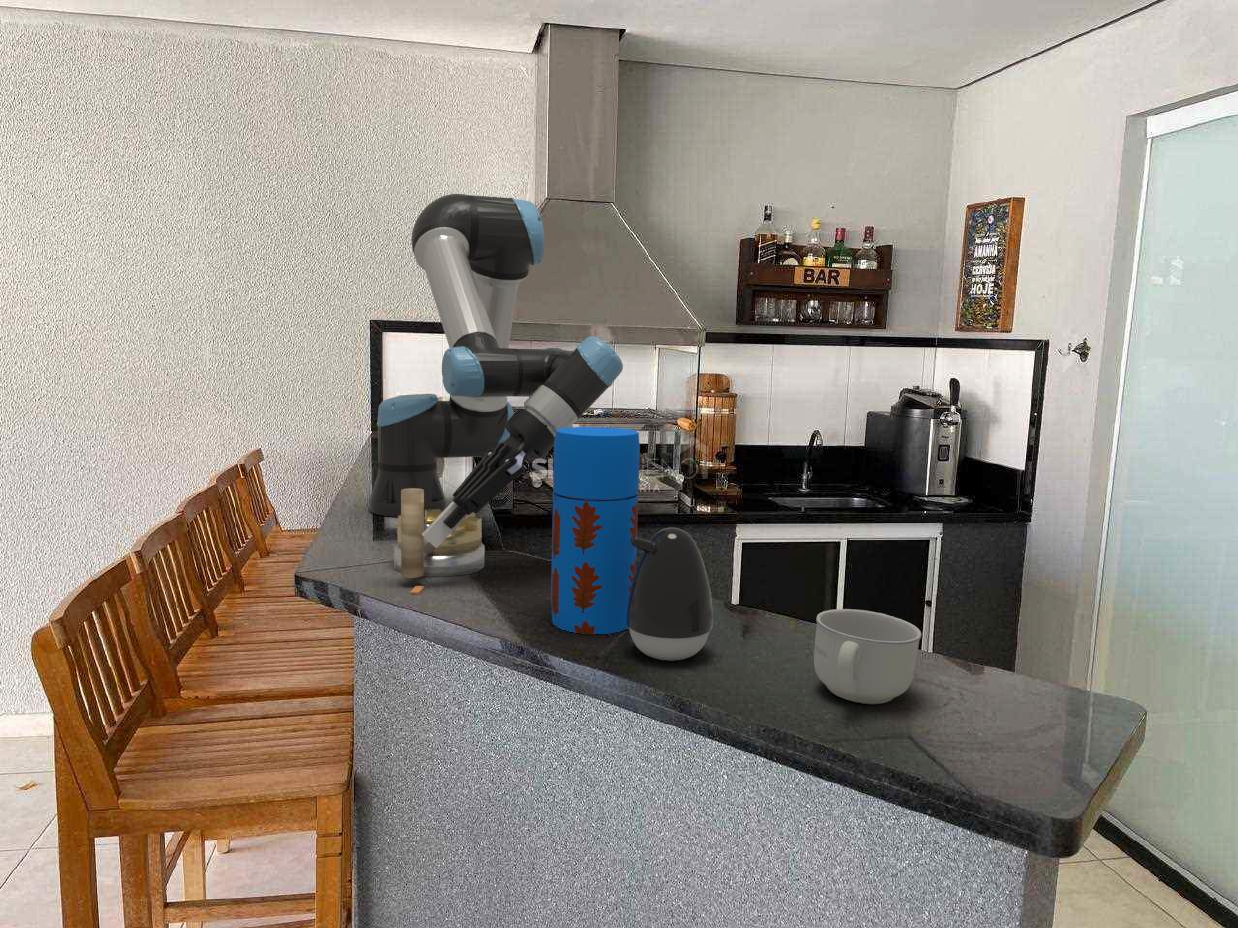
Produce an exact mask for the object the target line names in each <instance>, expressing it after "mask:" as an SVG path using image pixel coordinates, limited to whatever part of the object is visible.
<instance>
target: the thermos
mask: <svg viewBox="0 0 1238 928" xmlns="http://www.w3.org/2000/svg"><path fill="white" fill-rule="evenodd" d="M640 445H641V444H640V433H639V432H638V431H637V430H634V429H629V428H628V429H627V428H622V427H621V428H618V427H603V426H573V427H569V428H561V429H557V430H556V433H555V440H554V446H553V471H552V472H553V474H552V475H553V476H552V477H553V478H552V479H553V480H552V491H553V492H552V525H551V526H552V529H551V530H552V532H551V534H552V535H551V579H550V580H551V583H550V585H551V586H550V587H551V589H550V597H551V599H550V601H551V622H552V621H553V622H552V625H555V626H557V627H558V628H560V629H562V630H561V631H563V630H566V631H569V632H574V633H573V634H575V633H585V634H608V635H610V634H609V633H614V634H616V633H615V632H619V631H623V630H625V629H626V628H628V626H627V623H626V616H627V607H628V601H629V595H630V590H631V586H632V582H633V579H634V576H635V572H636V569H637V549H638V548H636V547H634V546H632V545H631V540H632V538H633V537H637V538H638V515H639V514H638V511H639V487H640V486H639V485H640V484H639V483H640V480H639V479H640V457H641V456H640V453H641V452H640V451H641V450H640V449H641V446H640ZM555 626H554V627H555ZM558 628H557V629H558ZM566 631H565V632H566ZM625 631H626V630H625ZM569 632H568V633H569ZM623 632H624V631H623ZM619 633H620V632H619Z"/></svg>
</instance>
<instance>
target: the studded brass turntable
mask: <svg viewBox="0 0 1238 928" xmlns="http://www.w3.org/2000/svg"><path fill="white" fill-rule="evenodd" d="M441 513H442V511H441V510H440V509H428V510H425V516H424V490H423V489H416V488H409V489H402V490H401V515H399V516H398V517H397V533H396V534H397V541H396V543H397V544H396V545H397V546H398V548H399V549H401V572H400V576H401V577H403V578H406V579H407V578H409V579H414V578H422V577H424V576H423V575H424V557H425V556H426V555H428V554H430V555H444V554H457V553H464V552H469V551H473V550H476V549H478V548H480V547H481V543H482V530H483V529H482V517H476V513H474V512H472V513H471V514H470V515H467V516H466V517H465V518H464V520H463V521H462V522H461V523H460V524H459V525H458V526H457V527H456V528H455V529H454V530H453V531H452V532H451V533H450V534H449V536H448V537H447V538H446V539H445V540H444V541H443V542H442V543H441V544H440V545H439V546H438V547H437V548H436V547H434V546H433V545H432V544H431V543H430V542H429V541H428V540H427V539H426V538H425V537H423V536H422V535H421V534H422V533H423V532H424V531H425V530H426V529H427V528H428V527H429V526H430V525H431V524H432V523H433V522H434V521H435V520H436V518H437V517H438V516H439V515H440V514H441Z"/></svg>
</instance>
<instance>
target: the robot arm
mask: <svg viewBox="0 0 1238 928" xmlns="http://www.w3.org/2000/svg"><path fill="white" fill-rule="evenodd" d="M411 232H412V233H411V238H410V239H411V250H412V252H413V253H412V254H413V256H414V259H415V261H416V264H417V265H418V266H419V267H420V268H421V269H422V270H424V271H425V274H426V277H427V281H428V284H429V286H430V287H429V288H430V291H431V294H432V297H433V299H434V303H435V305H436V311H437V312H438V316H439V318H440V319H439V320H440V322H441V325H442V328H443V332H444V335H445V338H446V342H447V344H448V348H447V349H446V350H445V351H444V353H443V356H442V361H441V375H442V384H443V388H444V390H445V391H446V393H447V394H449V399H448V400H439V398H438V395H437V394H436V393H420V394H419V393H416V394H415V393H414V394H406V395H399V396H393V397H389V398H387V399H384V400H382V402H381V403H380V404H379V405H378V410H377V422H376V426H377V453H378V454H377V455H378V456H377V461H378V462H377V465H378V467H377V469H378V470H377V475H376V479H375V481H374V485H373V488H372V491H371V494H370V498H369V503H368V505H369V508H368V509H369V512H370V513H372V514H375V515H379V516H384V517H396V518H398V516H399V515H401V490H402V489H409V488H416V489H423V490H424V517H425V510H428V509H440V510H441V511H442V513H441V514H440V515H439V516H438V517H437V518H436V520H435V521H434V522H433V523H432V524H431V525H430V526H429V527H428V528H427V529H426V530H425V531H424V532H423V533H422V534H421V535H422V536H423V537H425V538H426V539H427V540H428V541H429V542H430V543H431V544H432V545H433V546H434V547H436V548H437V547H438V546H439V545H440V544H441V543H442V542H443V541H444V540H445V539H446V538H447V537H448V536H449V534H450V533H451V532H452V531H453V530H454V529H455V528H456V527H457V526H458V525H459V524H460V523H461V522H462V521H463V520H464V518H465V517H466V516H467V515H470V514H471V513H472V512H474V513H475V514H477V513H479V512H480V510H482V509H483V508H484V507H486V505H487V504H489V503H490V501H492V500H493V499H494V498H495V497H496V496H497V495H498V494H499V493H500V492H502V490H503V489H505V488H506V487H507V486H509V484H510V483H511V482H512V481H513V480H515V479H516V478H517V477H519V476H520V475H522V474H524V472H525V471H526V467H525V464H526V461H527V459H528V458H529V456H530V455H532V456H533V457H534V458H537V459H542V458H544V457H545V456H546V455H547V453H549V451H550V450H552V449H553V448H554V440H555V433H556V430H557V429H561V428H569V427H574V426H573V425H574V424H575V423H576V422H577V421H578V420H579V419H580V418H581V417H582V416H583V415H584V414H585V413H586V412H587V411H588V409H590V407H591V406H592V405H594V404H595V403H596V401H598V399H599V398H600V397H601V396H602V395H603V394H604V393H605V392H606V391H607V390H608V388H610V387H612V386H613V384H614V382H615V380H616V379H617V378H618V377H619V376H620V374H621V373H622V372H623V368H624V364H623V361H622V360H621V358H620V356H619V354H617V352H616V351H615V350H614V349H613V348H612V347H611V346H610V345H609V344H608V343H607V342H606V341H604V340H602V339H601V338H599V337H597V336H593V335H592V336H591V335H590V336H588V337H586V338H585V339H584V340H583V341H582V342H580V344H577V345H576V348H575V349H574V350H567V349H566V350H565V349H562V348H558V347H554V348H553V347H546V348H509V346H510V339H511V333H512V326H513V322H514V321H513V320H514V315H515V309H516V302H517V295H518V290H519V284H520V283H521V282H523V281H524V280H526V279H528V276H529V272H530V266H536V265H539V264H540V263H541V262H542V259H543V257H544V252H545V229H544V223H543V220H542V216H541V213H540V211H539V209H538V208H537V206H536V204H534V203H533V202H531V201H529V200H526V199H525V200H523V199H517V198H514V197H502V196H501V197H499V196H487V195H486V196H485V195H475V194H474V195H473V194H471V195H470V194H465V193H462V194H461V193H450V194H446V195H443V196H441V197H438V198H436V199H435V200H433V201H431V203H428V205H426V207H424V209H423V210H422V211H421V212H420V214H419V215H418V217H417V218H416V220H415V223H414V225H413V227H412V231H411ZM508 397H520V398H521V397H528V398H527V399H526V400H525V401H524V402H523V407H521V408H517V410H516V411H515V412H514V410H513V406H512V405H511V403H510V402H509V401H508ZM473 457H475V458H476V457H478V458H481V459H480V461H479V462H478V463H477V464H476V466H475V467H474V468H473V469H472V471H471V472H470V473H469V474H468V476H466V478H465V479H464V480H463V481H462V483H461V484H460V485H459V486H458V487H457V489H456V490H455V491H454V492H453V494H452V496H453V498H452V501H451V502H450V503H449V505H448V506H447V505H446V504H447V499H446V496H445V492H444V490H443V487H442V484H441V480H440V477H439V475H438V459H448V458H449V459H451V458H473Z"/></svg>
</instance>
